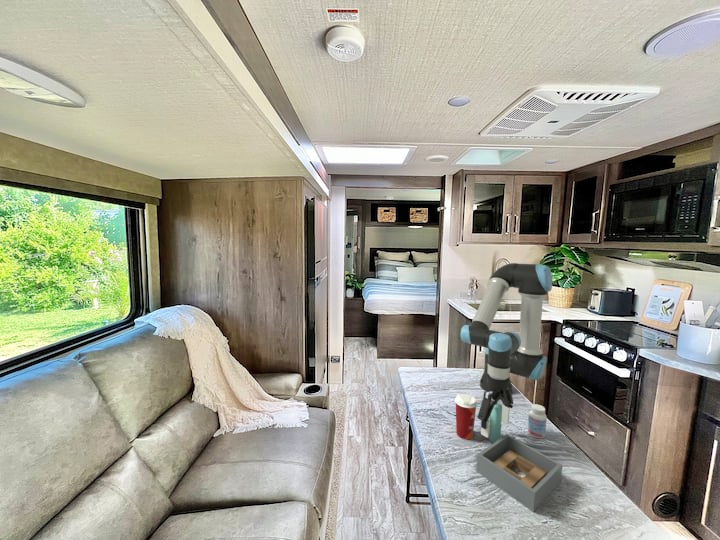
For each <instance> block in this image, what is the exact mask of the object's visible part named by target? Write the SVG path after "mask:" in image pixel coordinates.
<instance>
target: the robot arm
mask: <svg viewBox="0 0 720 540" xmlns="http://www.w3.org/2000/svg"><path fill="white" fill-rule="evenodd" d="M487 285H488V287H487V289H486V291H485V293H484V296H483V298H482V300H481V302H480V304H479V306H478V308H477V310H476V312H475V314H474V316H473V319H472V321H471V322H470V324H465V325H464V324H463V326H462V327H461V329H460V340H461V341H462V342H463V343H466V344H469V345H471V346H472V345H473V346H477V347H482V348H485V351H484V369H483V373H482V375H481V378H480V380H479V387H480V388H481V389H482V390H484V392H483V396H482V397H483V398H482V400H481V404H480V408H479V410H478V413H477V419H479V420H480V421H481V423H480V435H482V436H484V437H485V438H487V439H489V425H490V415H491V412H492V410H493V408H494V405H496V404H498V402H499V401H501V403H502V405H501V406H502V420H501V423H504V424H506V425H509V422H510V410H511V409H513V408H514V407H513V406H514V399H513V395H512V392H513V384H512V380H511V376H510V375H512V374H513V375H516V376H519V377H523V378H527V379H530V380H534V381H540V380H541V378H542V377H543V375H544V372H545V369H546V364H547V362H548V359H547V356H545V355H544V351H543V349H541V348H540V344H541V330H542V329H541V327H542V314H543V302H544V301H543V300H544V298H545V297H546V296H547V295H548V293H549V292H551V291H552V289H553V275H552V271H551V268H550V266H547V265H544V264H539V263H538V264H537V263H515V262H511V263H507V264H504V265H502V266H501V267H499V268H497V269H496V270H495V271H494V272H493V273H492V274H491V276H490V277H489V279H488V281H487ZM510 288H515V289H518V291H517V292H518V294H519V295H520V296H521V299H520V300H521V303H520V315H519V316H520V317H519V318H520V319H519V332H518V333H516V332H515V331H510V330H509V331H505V332H502V331H498V330H497V331H496V330H492V329H490V328H491V326H492V323H493V321H494V318H495V316H496V314H497V312H498V310H499V307H500V305H501V303H502V300H503V298H504V296H505V293H507V292H508V291H509V289H510Z"/></svg>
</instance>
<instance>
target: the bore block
mask: <svg viewBox="0 0 720 540" xmlns="http://www.w3.org/2000/svg"><path fill="white" fill-rule="evenodd" d="M493 463H495V464H496V465H498V466H499V467H501V468H502V469H504V470H505V471H507V472H508V473H510V474H511V475H513V476H514V477H516V478H517V479H519V480H520V481H522V482H523V483H525V484H526V485H528V486H529V487H531V488H532V489H533V488H534V487H535V486H536V485H537V484H538V483H539V482H540V481H541V480H542V479H543V478H544V477H545V476H546V475H547V471H545V470H543V469H542V468H540V467H538V466H536V465H535V464H533V463H531V462H530V461H528V460H526V459H525V458H523V457H521V456H520V455H518V454H516V453H515V452H513V451H511V450H509V451H508V452H506V453H505V454H504V455H502V456H501V457H500V458H498V459H497V460H496V461H494V462H493ZM513 468H514V469H515V470H518V472H521V473H522V474H523V475H524V476H521V475H520V474H517V473H516V472H515V471H513V470H512V469H513Z"/></svg>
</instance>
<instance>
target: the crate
mask: <svg viewBox="0 0 720 540" xmlns="http://www.w3.org/2000/svg"><path fill="white" fill-rule="evenodd" d="M509 450H511V451H513V452H515V453H516V454H518V455H520V456H521V457H523V458H525V459H526V460H528V461H530V462H531V463H533V464H535V465H536V466H538V467H540V468H542V469H543V470H545V471H547V475H546V476H545V477H544V478H543V479H542V480H541V481H540V482H539V483H538V484H537V485H536V486H535V487H534V488H533V489H532V488H531V487H529V486H528V485H526V484H525V483H523V482H522V481H520V480H519V479H517V478H516V477H514V476H513V475H511V474H510V473H508V472H507V471H505V470H504V469H502V468H501V467H499V466H498V465H496V464H495V463H493V462H495V461H496V460H497V459H498V458H500V457H501V456H502V455H504V454H505V453H506V452H508V451H509ZM476 472H477V473H478V474H480V475H481V476H482V477H484V478H485V479H486V480H488V481H490V482H491V483H492V484H493V485H495V486H496V487H498V488H500V489H501V490H502V491H503V492H504V493H506V494H507V495H509V496H510V497H511V498H513V499H514V500H516V501H517V502H519V504H521V505H523V506H524V507H526V508H527V509H528V510H529V511H531V512H532V513H534V512H535V511H536V510H537V509H538V508H539V506H541V505H542V503H543V502H544V501H545V500H546V499H547V498H548V497H549V496H550V495H551V494H552V493H553V491H554V490H556V488H557V487H558V486H559V485H560V484H561V483H562V473H563V464H562V463H559V462H558V461H556V460H554V459H552V458H551V457H550V456H547V455H546V454H544V453H542V452H540V451H538V450H536V449H534V448H533V447H531V446H530V445H528V444H525V443H523V442H522V441H520V440H519V439H517V438H515V437H513V436H511V435H509V434H507V433H506V434H504V435H502V437H500V439H499V440H497V441H496V442H494V443H492V444H490V445H489V446H487V447H486V448H485V449H483V450H482V451H480V452H479V453H477V455H476Z"/></svg>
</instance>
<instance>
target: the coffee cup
mask: <svg viewBox="0 0 720 540" xmlns="http://www.w3.org/2000/svg"><path fill="white" fill-rule="evenodd" d="M454 403H455V425H456V427H455V430H456V435H457V436H458V438H460V439H462V440H465V441H466V440H471V439H473V437H474V436H473V434H474V427H475V419H476V410H477V406H478V402H477V399H476V398H475V396H473V395H470V394H469V393H468V394H467V393H460V394H459V393H458V394H457V395H456V397H455V399H454Z"/></svg>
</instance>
